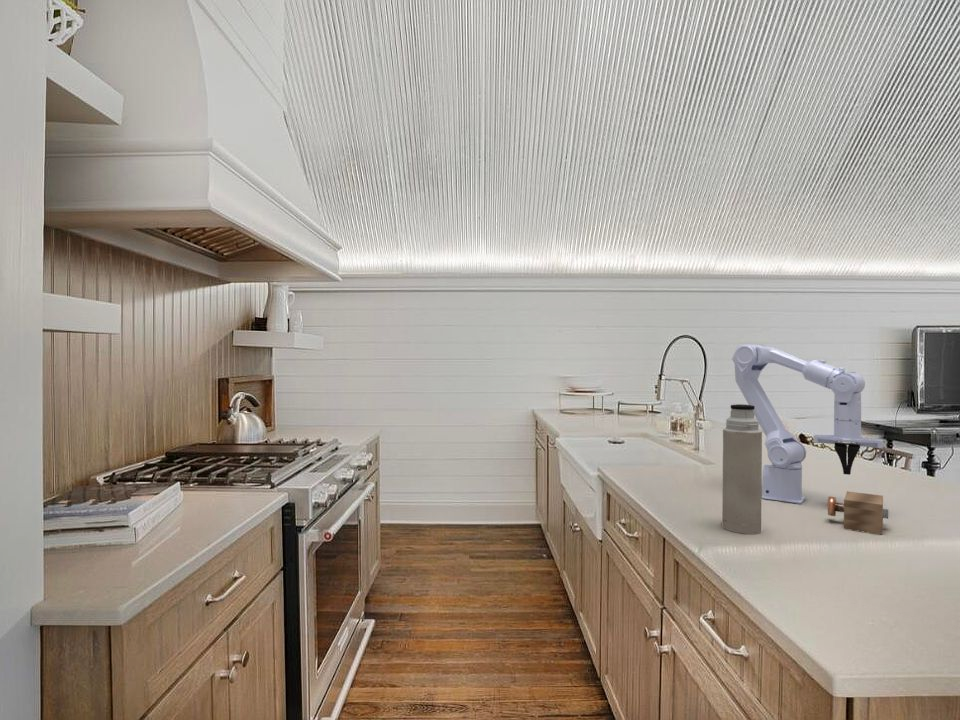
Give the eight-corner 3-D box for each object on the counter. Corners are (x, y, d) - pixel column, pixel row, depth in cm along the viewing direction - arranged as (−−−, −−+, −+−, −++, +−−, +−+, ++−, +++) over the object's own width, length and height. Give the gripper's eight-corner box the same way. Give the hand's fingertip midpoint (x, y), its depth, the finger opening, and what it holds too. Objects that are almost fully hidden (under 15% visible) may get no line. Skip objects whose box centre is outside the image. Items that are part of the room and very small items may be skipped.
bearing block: (843, 528, 126) (844, 499, 126) (846, 518, 134) (847, 491, 134) (882, 534, 121) (882, 504, 121) (882, 523, 129) (883, 495, 129)
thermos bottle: (720, 521, 131) (721, 402, 130) (758, 525, 128) (759, 403, 128) (723, 531, 123) (724, 405, 123) (763, 535, 120) (764, 406, 120)
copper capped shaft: (827, 517, 130) (827, 498, 130) (829, 513, 133) (829, 494, 133) (888, 526, 123) (888, 506, 123) (888, 521, 127) (888, 502, 127)
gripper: (812, 419, 141) (811, 472, 141) (882, 423, 133) (882, 480, 133) (815, 417, 147) (815, 468, 147) (883, 421, 138) (882, 475, 138)
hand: (847, 473), depth 140 cm, fingers closed
